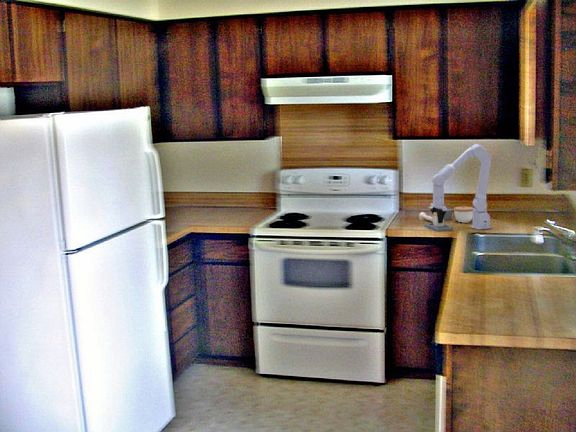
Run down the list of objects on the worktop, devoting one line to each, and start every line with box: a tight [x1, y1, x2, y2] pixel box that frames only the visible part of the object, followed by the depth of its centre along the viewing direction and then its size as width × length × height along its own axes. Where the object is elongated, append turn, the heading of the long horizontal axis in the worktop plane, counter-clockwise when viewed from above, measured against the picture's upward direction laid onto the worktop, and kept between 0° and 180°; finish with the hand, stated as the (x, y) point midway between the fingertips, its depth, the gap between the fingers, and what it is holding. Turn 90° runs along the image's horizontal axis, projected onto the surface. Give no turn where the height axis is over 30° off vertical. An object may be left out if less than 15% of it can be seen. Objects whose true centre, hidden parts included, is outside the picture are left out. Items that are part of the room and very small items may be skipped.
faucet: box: [418, 206, 433, 223], centre depth 421 cm, size 4×18×10 cm, turn 19°
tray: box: [423, 222, 454, 232], centre depth 400 cm, size 15×9×2 cm, turn 17°
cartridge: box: [432, 212, 445, 226], centre depth 400 cm, size 4×4×7 cm
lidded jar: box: [453, 204, 475, 224], centre depth 415 cm, size 11×11×9 cm
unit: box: [444, 208, 454, 222], centre depth 422 cm, size 6×9×6 cm, turn 107°
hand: (438, 222), depth 400 cm, fingers closed on cartridge, 4 cm apart
